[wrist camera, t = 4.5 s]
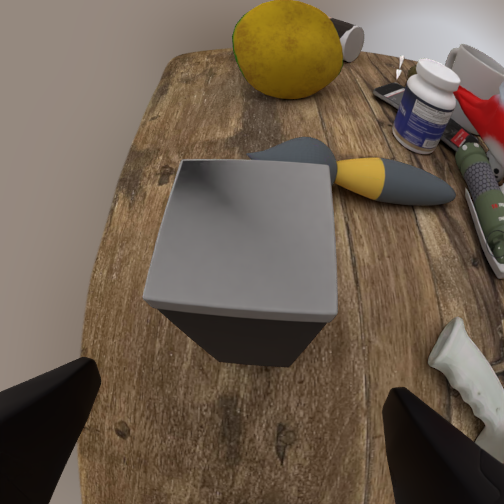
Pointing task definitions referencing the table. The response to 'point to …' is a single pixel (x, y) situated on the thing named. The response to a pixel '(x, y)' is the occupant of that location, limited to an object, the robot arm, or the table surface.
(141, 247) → the table surface
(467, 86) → the mug
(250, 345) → the post
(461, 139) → the smartphone
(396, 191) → the paintbrush
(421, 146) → the pill bottle
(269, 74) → the yellow fruit
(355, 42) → the cup
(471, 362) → the tape dispenser
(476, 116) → the toy
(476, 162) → the grenade
